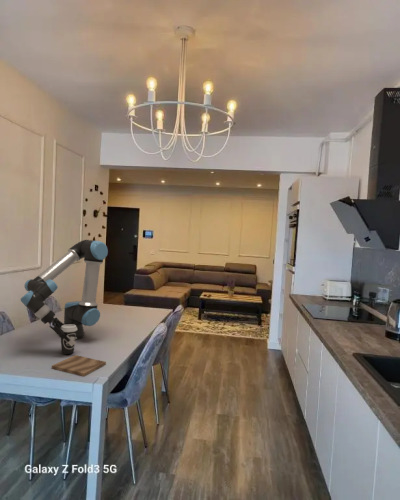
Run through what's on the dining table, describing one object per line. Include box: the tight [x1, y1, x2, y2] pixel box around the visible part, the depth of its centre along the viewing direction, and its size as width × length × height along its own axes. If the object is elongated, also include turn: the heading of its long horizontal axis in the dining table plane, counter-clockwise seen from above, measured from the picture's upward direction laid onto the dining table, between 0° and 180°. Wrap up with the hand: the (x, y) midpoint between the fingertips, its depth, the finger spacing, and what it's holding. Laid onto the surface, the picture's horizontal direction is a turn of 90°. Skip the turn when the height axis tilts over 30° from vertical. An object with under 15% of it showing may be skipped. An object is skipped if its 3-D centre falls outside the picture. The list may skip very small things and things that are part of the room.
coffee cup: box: [60, 324, 78, 355], centre depth 200 cm, size 10×10×15 cm
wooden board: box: [51, 354, 107, 377], centre depth 183 cm, size 20×18×2 cm
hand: (74, 342), depth 201 cm, fingers closed on coffee cup, 8 cm apart
